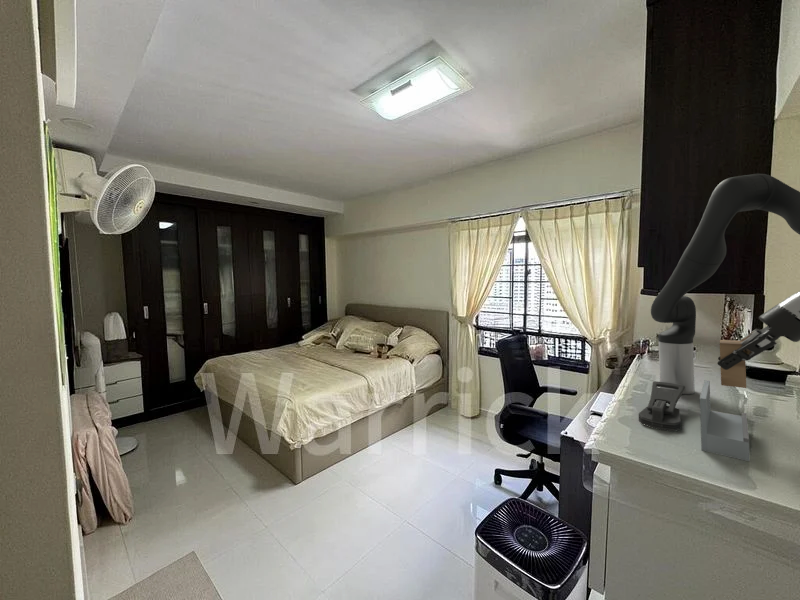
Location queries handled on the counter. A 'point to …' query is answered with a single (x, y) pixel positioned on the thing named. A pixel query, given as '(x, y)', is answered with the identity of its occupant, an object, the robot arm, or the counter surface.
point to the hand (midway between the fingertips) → (721, 363)
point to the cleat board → (722, 430)
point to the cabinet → (737, 372)
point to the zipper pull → (663, 407)
